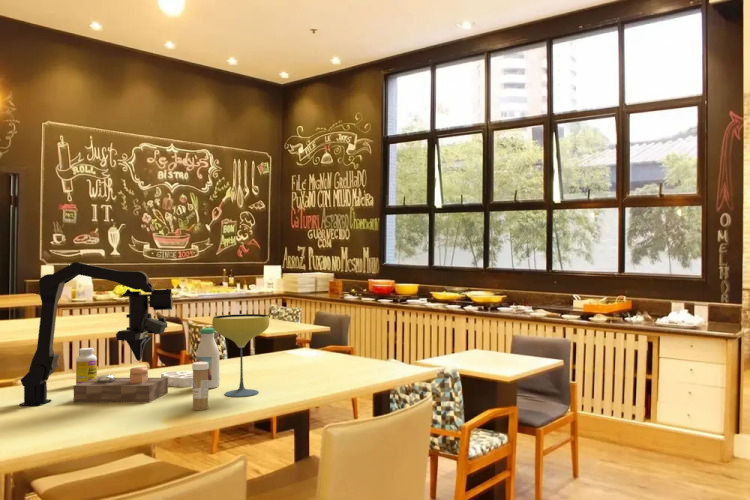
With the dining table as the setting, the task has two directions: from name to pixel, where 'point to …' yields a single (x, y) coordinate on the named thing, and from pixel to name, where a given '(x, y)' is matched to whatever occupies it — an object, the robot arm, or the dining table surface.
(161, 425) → the dining table surface
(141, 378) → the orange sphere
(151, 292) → the robot arm
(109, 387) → the brown flat block
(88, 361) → the supplement bottle
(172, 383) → the white recessed tray
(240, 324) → the cocktail glass
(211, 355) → the milk bottle
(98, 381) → the knob steel
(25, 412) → the dining table surface
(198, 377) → the sprinkles bottle
